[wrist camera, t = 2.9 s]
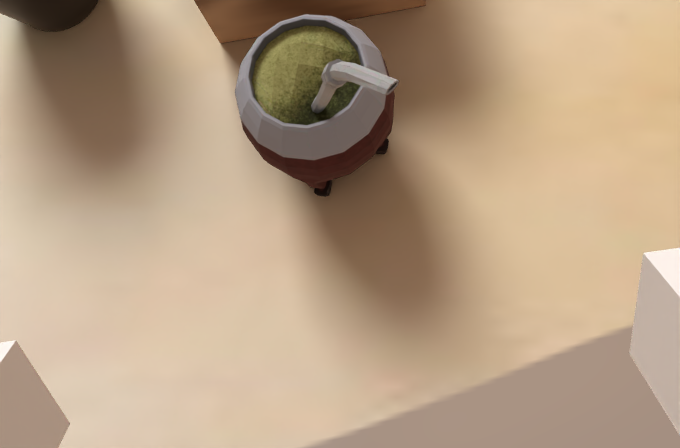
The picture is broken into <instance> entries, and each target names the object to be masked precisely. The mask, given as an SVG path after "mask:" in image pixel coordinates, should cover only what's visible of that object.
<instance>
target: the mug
mask: <svg viewBox="0 0 680 448" xmlns="http://www.w3.org/2000/svg"><path fill="white" fill-rule="evenodd" d="M97 2H98V0H0V13H1V14H3V15H6V16H8V17H11V18H13V19H16V20H18V21H21V22H23V23H26V24H28V25H30V26H32V27H34V28H36V29H39V30H42V31H61V30H65V29H68V28H70V27H73V26H75V25H76V24H78V23H80V22H81V21H82V20H83V19H85V18H86V17H87V16H88V15H89V14H90V13H91V11H92V10H93V9H94V7H95V6H96V4H97Z"/></svg>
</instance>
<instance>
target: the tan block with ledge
mask: <svg viewBox="0 0 680 448" xmlns="http://www.w3.org/2000/svg"><path fill="white" fill-rule="evenodd" d="M194 1H195V3H196V4H197V6H198V8H199V9H200V11H201V13H202V14H203V16H204V17H205V19H206V21H207V22H208V24H209V26H210V27H211V29H212V31H213V32H214V34H215V35H216V37H217V39H218V40H219V42H220V43H226V42H231V41H236V40H242V39H247V38H253V37H258V36H261V35H262V34H263V33H265V32H266V31H268V30H269V29H270V28H272V27H273V26H274V25H276V24H277V23H279V22H281V21H284V20H288V19H291V18H294V17H298V16H301V15H305V14H309V15H323V16H333V17H336V18H338V19H340V20H342V21H344V20H349V19H355V18H360V17H366V16H371V15H376V14H382V13H387V12H393V11H398V10H403V9H409V8H414V7H419V6H425V2H426V0H194Z"/></svg>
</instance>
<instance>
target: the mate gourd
mask: <svg viewBox="0 0 680 448" xmlns="http://www.w3.org/2000/svg"><path fill="white" fill-rule="evenodd" d="M398 83H399V80H397V79H394V78H392V77H389V74H388V71H387V67H386V64H385V61H384V59H383V58H382V55H381V52H380V50H379V49H378V48H377V47H376V46H375V45H374V44H373V42H372V41H371V40H370V39H369V38H368V37H367V36H366V34H365V33H364V32H363V31H362V30H361V29H359V28H357V27H355V26H353V25H351V24H348V23H346V22H344V21H342V20H340V19H338V18H336V17H333V16H323V15H309V14H305V15H301V16H298V17H294V18H291V19H288V20H284V21H281V22H279V23H277V24H276V25H274V26H273V27H272V28H270V29H269V30H268V31H266V32H265V33H263V34H262V35H261V36H259V37H258V38H257V39H256V41H255V42H254V44H253V45H252V47H251V48H250V50H249V51H248V53H247V55H246V56H245V58H244V59H243V61H242V63H241V65H240V70H239V75H238V80H237V85H236V89H235V95H236V100H237V104H238V109H239V114H240V118H241V122H242V126H243V130H244V132H245V134H246V136H247V137H248V139H249V140H250V141H251V143H252V144H253V145H254V147H255V148H256V149H257V151H258V152H259V153H260V155H261V156H262V158H263V159H264V160H265V161H267V162H268V163H269V164H271V165H272V166H274V167H276V168H278V169H279V170H281V171H283V172H285V173H286V174H288V175H290V176H292V177H293V178H296V179H298V180H301V181H303V182H306V183H307V184H308V185H309V186H310V187H312V188H314V193H315V194H317V195H318V196H329V194H330V189H331V184H332V179H335V178H338V177H341V176H345V175H348V174H351V173H352V172H353V171H355V170H356V169H357V168H359V167H360V166H361V165H363V164H364V163H365V162H367V161H368V160H369V159H371V158H372V157H373V155H374V154H385V153H386V152H387V149H388V142H389V141H388V139H387V137H388V135H389V134H390V132H391V129H392V123H393V106H394V96H395V95H394V89H395V88H396V87H397V85H398Z"/></svg>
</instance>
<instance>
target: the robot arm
mask: <svg viewBox="0 0 680 448" xmlns="http://www.w3.org/2000/svg"><path fill="white" fill-rule="evenodd" d="M629 354H630V356H631V357H632V359H633V360H634V362H635V364H636V365H637V367H638V369H639V370H640V372H641V373H642V375H643V377H644V378H645V380H646V382H647V383H648V385H649V386H650V388H651V390H652V391H653V393H654V394H655V396H656V398H657V399H658V401H659V403H660V404H661V406H662V407H663V409H664V411H665V412H666V414H667V416H668V417H669V419H670V420H671V422H672V424H673V425H674V427H675V428H676V430H677V432H678V433H679V435H680V248H675V249H668V250H660V251H653V252H646V253H643V258H642V266H641V273H640V280H639V287H638V295H637V302H636V309H635V316H634V323H633V331H632V338H631V345H630V352H629ZM69 425H70V423H69V421H68V420H67V418H66V417H65V415H64V413H63V412H62V410H61V409H60V407H59V406H58V404H57V403H56V401H55V400H54V398H53V397H52V395H51V393H50V392H49V390H48V389H47V387H46V386H45V384H44V383H43V381H42V380H41V378H40V377H39V375H38V374H37V372H36V370H35V369H34V367H33V366H32V364H31V363H30V361H29V360H28V358H27V357H26V355H25V354H24V352H23V350H22V349H21V347H20V346H19V344H18V343H17V341H16V340H15V341H8V342H1V343H0V448H58V447H59V445H60V443H61V441H62V439H63V437H64V435H65V433H66V431H67V429H68V427H69Z"/></svg>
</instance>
